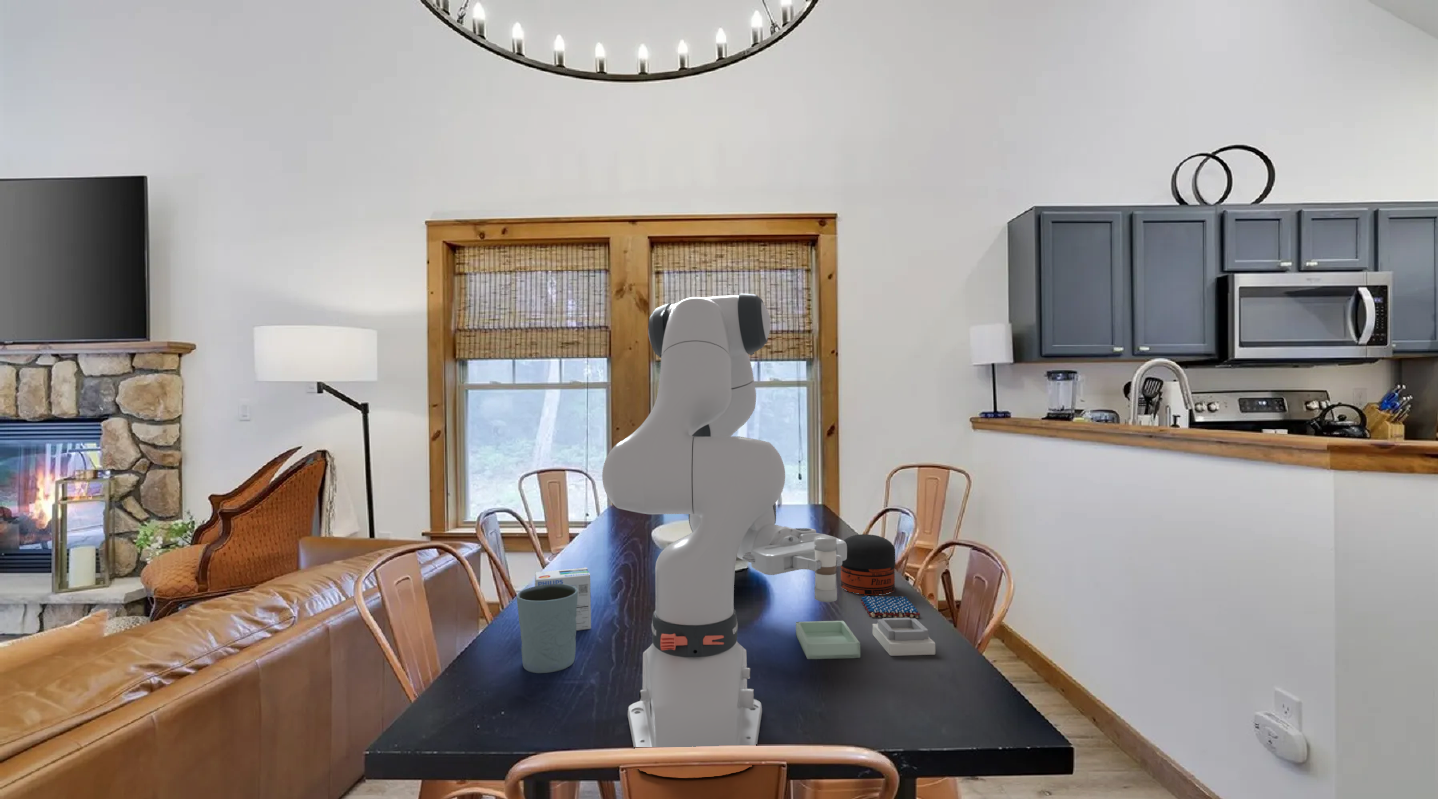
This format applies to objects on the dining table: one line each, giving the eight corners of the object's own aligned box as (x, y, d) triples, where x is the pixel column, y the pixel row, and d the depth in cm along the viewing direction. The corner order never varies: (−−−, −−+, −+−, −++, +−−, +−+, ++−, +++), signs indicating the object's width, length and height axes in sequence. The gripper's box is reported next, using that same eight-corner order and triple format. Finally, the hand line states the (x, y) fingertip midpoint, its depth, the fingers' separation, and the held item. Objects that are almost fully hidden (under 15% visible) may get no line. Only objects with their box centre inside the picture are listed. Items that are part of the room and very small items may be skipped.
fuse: (839, 601, 107) (838, 540, 107) (817, 602, 107) (816, 540, 107) (834, 594, 111) (833, 535, 111) (812, 595, 111) (812, 535, 111)
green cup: (572, 674, 98) (572, 600, 98) (509, 676, 97) (509, 601, 97) (582, 649, 108) (582, 582, 108) (524, 651, 107) (525, 583, 107)
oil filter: (860, 577, 154) (829, 587, 145) (859, 529, 154) (828, 536, 145) (906, 588, 144) (876, 599, 135) (905, 536, 145) (875, 545, 136)
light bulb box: (588, 618, 124) (588, 566, 125) (591, 629, 118) (591, 574, 118) (534, 624, 121) (534, 570, 121) (535, 636, 115) (535, 579, 115)
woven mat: (921, 620, 123) (921, 610, 123) (869, 620, 124) (869, 610, 124) (908, 604, 134) (908, 595, 134) (860, 604, 134) (859, 594, 134)
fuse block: (935, 654, 105) (935, 634, 105) (890, 655, 104) (889, 635, 104) (913, 633, 115) (913, 614, 115) (872, 634, 114) (872, 615, 114)
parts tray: (860, 657, 103) (860, 643, 104) (807, 659, 103) (807, 644, 103) (843, 633, 115) (843, 620, 115) (795, 635, 114) (795, 621, 114)
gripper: (737, 539, 114) (784, 554, 103) (817, 527, 126) (867, 539, 114) (737, 573, 114) (784, 591, 103) (817, 557, 126) (867, 572, 114)
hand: (829, 563), depth 109 cm, fingers closed on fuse, 4 cm apart
